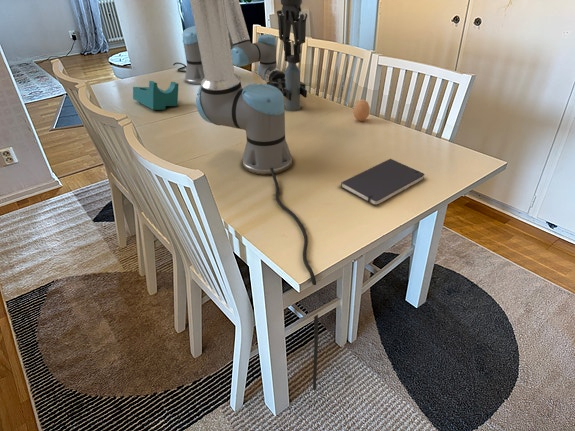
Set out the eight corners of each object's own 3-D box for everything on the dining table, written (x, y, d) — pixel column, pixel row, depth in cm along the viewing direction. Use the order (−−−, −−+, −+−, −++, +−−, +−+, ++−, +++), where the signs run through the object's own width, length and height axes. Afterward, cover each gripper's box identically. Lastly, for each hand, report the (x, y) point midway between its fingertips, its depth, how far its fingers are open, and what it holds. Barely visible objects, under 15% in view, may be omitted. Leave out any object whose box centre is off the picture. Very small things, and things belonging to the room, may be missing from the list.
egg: (358, 124, 148) (359, 103, 143) (349, 119, 153) (351, 98, 148) (372, 121, 150) (374, 100, 145) (363, 116, 154) (364, 95, 150)
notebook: (389, 163, 124) (340, 187, 113) (390, 158, 123) (341, 182, 112) (424, 178, 116) (375, 206, 105) (425, 174, 115) (376, 201, 104)
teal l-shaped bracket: (177, 109, 169) (178, 83, 164) (152, 109, 162) (153, 82, 157) (156, 99, 180) (157, 74, 175) (133, 98, 172) (133, 73, 168)
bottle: (288, 104, 167) (287, 55, 155) (302, 106, 165) (302, 56, 154) (283, 109, 162) (282, 59, 151) (297, 111, 161) (297, 60, 149)
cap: (295, 59, 155) (295, 54, 154) (299, 62, 152) (299, 56, 151) (285, 60, 154) (285, 55, 153) (288, 63, 151) (288, 58, 150)
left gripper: (296, 84, 178) (319, 101, 161) (256, 90, 173) (275, 108, 155) (296, 67, 174) (320, 82, 156) (254, 73, 168) (274, 89, 151)
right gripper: (316, -8, 136) (315, 63, 150) (282, -12, 147) (284, 55, 160) (301, -6, 132) (301, 68, 146) (266, -10, 142) (270, 59, 156)
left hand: (298, 95), depth 156 cm, fingers closed on bottle, 6 cm apart
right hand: (292, 61), depth 153 cm, fingers closed on cap, 4 cm apart
